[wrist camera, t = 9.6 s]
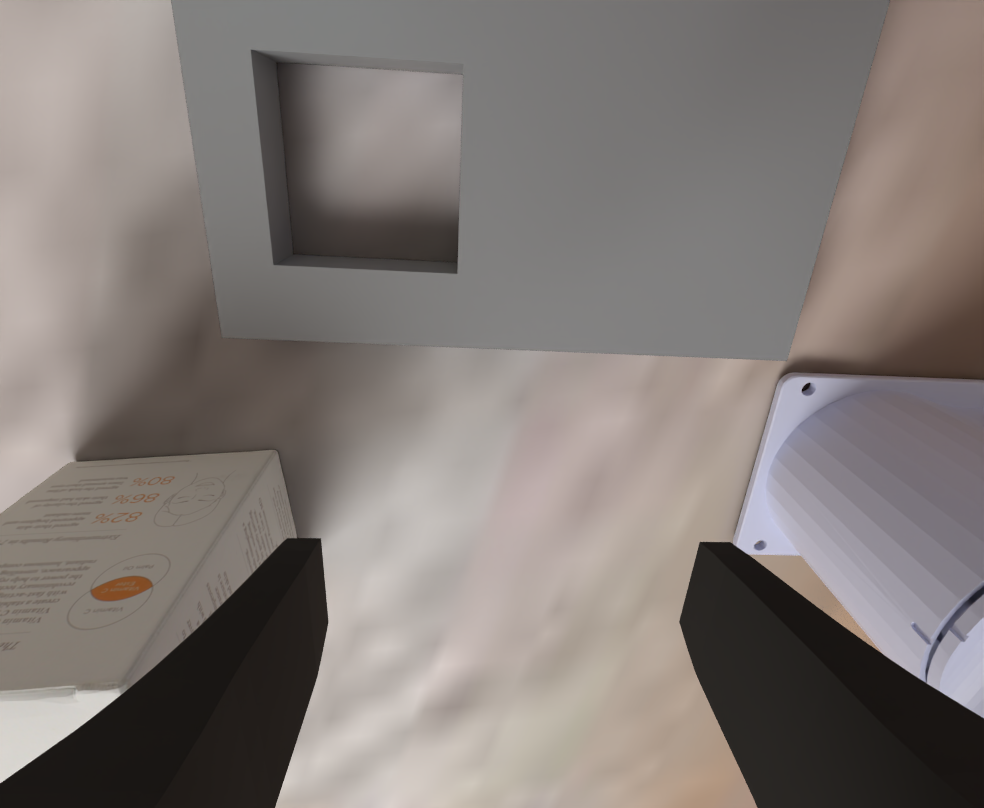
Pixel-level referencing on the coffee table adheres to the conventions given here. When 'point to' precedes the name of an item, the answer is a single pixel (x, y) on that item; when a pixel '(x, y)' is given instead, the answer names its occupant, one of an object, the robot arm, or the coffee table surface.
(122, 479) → the small box
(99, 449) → the coffee table surface
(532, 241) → the pocket board
